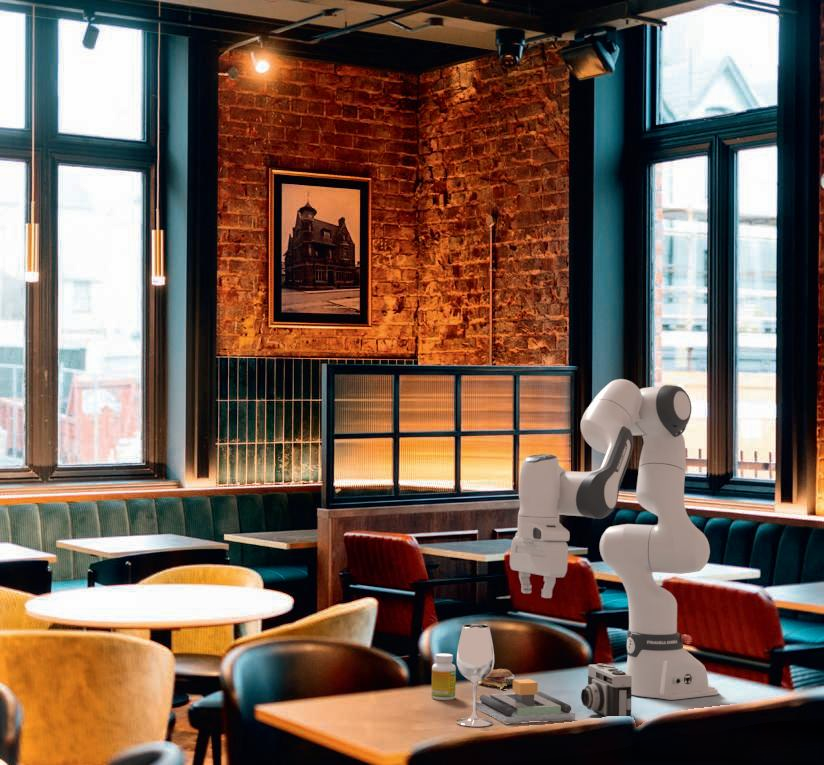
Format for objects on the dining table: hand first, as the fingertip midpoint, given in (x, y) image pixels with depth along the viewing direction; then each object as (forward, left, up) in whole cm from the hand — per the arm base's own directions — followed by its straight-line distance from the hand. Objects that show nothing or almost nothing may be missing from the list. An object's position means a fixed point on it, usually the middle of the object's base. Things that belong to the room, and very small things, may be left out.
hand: (536, 595), depth 281 cm
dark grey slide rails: (+1, -3, -24) cm, 24 cm away
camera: (-15, +1, -26) cm, 30 cm away
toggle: (+1, -3, -24) cm, 24 cm away
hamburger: (-6, -33, -26) cm, 42 cm away
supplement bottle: (+12, -23, -26) cm, 37 cm away
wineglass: (+15, +2, -26) cm, 30 cm away
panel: (+1, -3, -26) cm, 26 cm away
